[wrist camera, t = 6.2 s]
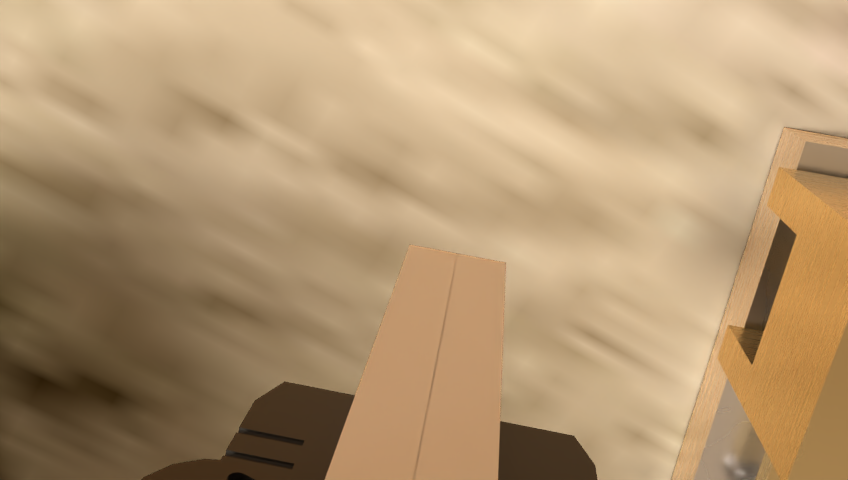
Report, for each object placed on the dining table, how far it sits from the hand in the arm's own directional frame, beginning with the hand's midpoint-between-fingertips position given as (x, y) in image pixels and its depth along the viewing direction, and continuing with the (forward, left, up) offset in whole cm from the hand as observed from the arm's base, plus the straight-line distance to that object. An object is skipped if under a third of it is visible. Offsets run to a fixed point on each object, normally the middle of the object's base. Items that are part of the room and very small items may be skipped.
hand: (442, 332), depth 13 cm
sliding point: (-2, -9, -7) cm, 11 cm away
